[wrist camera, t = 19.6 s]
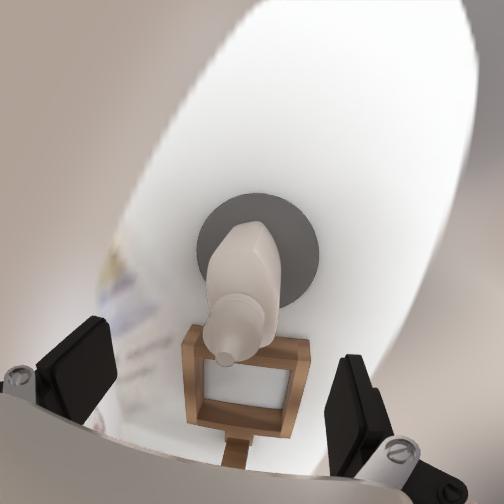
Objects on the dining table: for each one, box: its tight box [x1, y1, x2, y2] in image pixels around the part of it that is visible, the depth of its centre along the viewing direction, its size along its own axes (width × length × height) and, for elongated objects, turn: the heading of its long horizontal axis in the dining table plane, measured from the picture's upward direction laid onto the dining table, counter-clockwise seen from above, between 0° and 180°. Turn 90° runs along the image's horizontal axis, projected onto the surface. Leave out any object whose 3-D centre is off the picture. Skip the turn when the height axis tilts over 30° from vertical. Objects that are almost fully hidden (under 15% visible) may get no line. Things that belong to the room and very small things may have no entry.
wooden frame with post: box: [181, 325, 311, 470], centre depth 21 cm, size 16×10×13 cm, turn 175°
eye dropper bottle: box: [203, 221, 281, 367], centre depth 16 cm, size 4×6×12 cm
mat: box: [197, 193, 319, 308], centre depth 22 cm, size 9×9×1 cm
